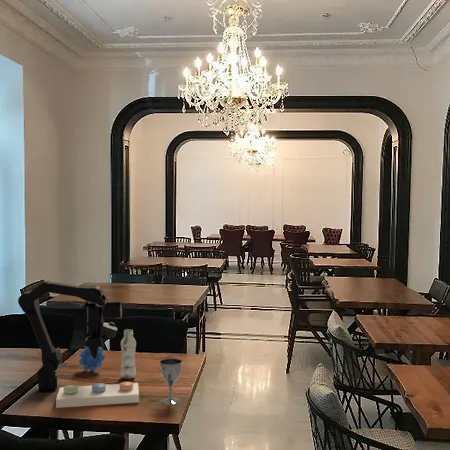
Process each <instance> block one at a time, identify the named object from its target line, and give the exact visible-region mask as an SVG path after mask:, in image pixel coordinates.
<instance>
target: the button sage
mask: <svg viewBox="0 0 450 450" xmlns="http://www.w3.org/2000/svg"><path fill="white" fill-rule="evenodd" d="M78 386H79V385H76V384H70V385H65V386H63V387H64V393H65V394H74V393H77V392H78Z"/></svg>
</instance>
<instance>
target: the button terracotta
mask: <svg viewBox="0 0 450 450" xmlns="http://www.w3.org/2000/svg"><path fill="white" fill-rule="evenodd" d="M133 383H134V382H131V381H123V382H120V383H119V384H120V390H123V391H129V390H132V389H133Z"/></svg>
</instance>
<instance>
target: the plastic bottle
mask: <svg viewBox="0 0 450 450" xmlns="http://www.w3.org/2000/svg"><path fill="white" fill-rule="evenodd" d="M133 331H134V330H133V329H128V328H126V329H124V330H123V337H122V339H121V341H120V348H121V366H120V377H121V378H122V379H124V380H130V379H134V378H135V377H136V376H137V367H136V359H135V357H136V349H137V348H136V347H137V341H136V339H135V337H134V332H133Z"/></svg>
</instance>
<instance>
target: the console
mask: <svg viewBox="0 0 450 450" xmlns="http://www.w3.org/2000/svg"><path fill="white" fill-rule="evenodd" d="M132 383H133V389H132V390H129V391H123V390H120V383H115V384H114V383H113V384H105V385H106V390H105V391H103V392H93V391H92V385H81V386H80V385H77V386H78V392H77V393H74V394H65V393H64V387H65V386H63V387H59V390H58V393H57V395H56V399H55V408H56V409H58V408H59V409H60V408H75V407H77V408H78V407H89V406H90V407H92V406H103V405H106V406H107V405H122V404H135V403H136V404H138V403H140V394H139V393H140V391H139V383H138V382H132Z"/></svg>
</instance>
